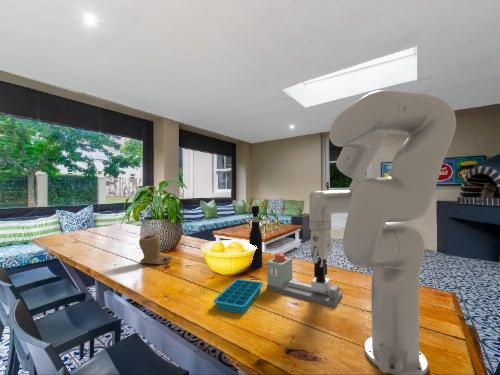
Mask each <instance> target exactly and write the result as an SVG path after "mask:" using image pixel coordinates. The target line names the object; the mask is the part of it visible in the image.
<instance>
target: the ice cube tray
mask: <svg viewBox="0 0 500 375" xmlns="http://www.w3.org/2000/svg"><path fill="white" fill-rule="evenodd" d="M263 285H264V283H263V282H262V281H258V280H255V281H254V280H249V279H248V280H247V279H240V278H236V279H234V281H233V282H231V283H230V284H229V285H228V286H226V288H225V289H223V290H222V292H220V293H219V294H218V295H217V296H216V297H215V298H214V299H213V303H214V304H216V309H217V310H222V311H225V312H226V311H227V312H233V313H238V314H244V313H246V311H247V310H248V309H249V307H250V306H251V305H252V303H253V302H254V301H255V299H256V298H257V296H258V295H259V294H260V293H261V288H262V286H263Z"/></svg>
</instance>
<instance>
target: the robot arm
mask: <svg viewBox="0 0 500 375" xmlns="http://www.w3.org/2000/svg"><path fill="white" fill-rule="evenodd" d="M456 128H457V117H456V113H455V111H454V109H453V107H452V106H451V105H450V104H449V103H448V102H446V101H445V100H444V99H441V98H440V97H437V96H435V95H431V94H425V93H417V92H406V91H405V92H404V91H396V90H395V91H394V90H375V91H372V92H369V93H368V94H366V95H364V96H363V97H361V98H359V99H358V100H356V101H355V102H353V104H351V105H349V106H348V107H346V108H345V109H344V110H343V111H341V112H340V113H339V114H338V115H337V116H336V117H335V118H334V119H333V122H332V124H331V127H330V128H329V129H330V130H329V140H330V142H331V143H332V145H334V146H336V147H338V148H339V147H340V148H341V147H342V149H341V151H340V154H339V155H338V157H337V159H336V162H335V165H336V168H337V169H338V171H339V172H340V173H342V174H343V175H345V177H348V178H351V179H352V181H351V183H350V185H349V187H348V188H347V189H346V190H313V191H311V192H309V195H308V196H309V202H308V203H309V205H308V206H309V208H308V209H309V216H308V218H309V230H311V232H310V246H309V247H310V252H309V253H310V257H311V258H312V260H311V261H312V263H313V276H314V278H315V277H317V278H321V279H323V278H324V267H322V266H323V260H325V276H327V275H328V258H329V256H331V254H333V253H332V252H333V251H332V250H333V249H332V248H333V247H332V235H331V234H332V232H331V230H332V215H333V214H347V216H346V217H347V218H346V222H345V225H344V230H343V231H344V232H343V238H342V248H343V252H344V255H345V257H346V259H347V261H348V262H349V263H350V264H352V265H353V266H355V267H357V268H363V269H366V268H367V269H369V268H371V269H372V268H374V269H373V271H372V274H371V289H370V290H371V291H370V292H371V297H370V298H371V303H370V304H371V337H369V338H368V339H366V341H365V342H364V352H365V355H366V356H367V358H368V359H369V360H370V361H371V362H372V363H373V364H374V365H375V366H376V367H378V369H379V370H380V371H381V372H382V373H384V374H388V373H389V374H392V375H426V374H427V373H428V370H429V363H428V359H427V358H426V356H425V355H424V353H422V352H421V351H420V277H421V276H420V275H421V269H422V265H423V261H424V260H423V259H424V255H425V243H424V238H423V236H422V234H421V232H420V231H419V230H418V229H417V228H416V227H415V226H414V225H411V224H409V223H406V222H410V221H411V222H413V221H417V220H419V219H421V218H423V217H425V215H426V214H427V212H428V211H429V208H430V206H431V203H432V200H433V197H434V193H435V189H436V186H437V183H438V181H439V178H440V174H441V170H442V166H443V164H444V160H445V158H446V155H447V153H448V152H449V151H448V150H449V148H450V146H451V144H452V142H453V138H454V137H455V133H456ZM388 134H390V135H392V134H393V135H395V134H396V135H406V136H408V138H406V140H405V141H404V142H403V143H402V144H401V145H400V146H399V147H398V149H397V151H396V153H395V155H394V157H393V159H392V165H391V169H390V172H389V174H388V176H386V177H371V178H367V175H366V172H367V170H368V169H369V166H370V165H371V163H372V162H373V160H374V158H375V157H376V155H377V154H378V151H379V149H380V148H381V146H382V145H383V142H384V141H385V139H386V138H387V135H388ZM318 260H320V261H318Z"/></svg>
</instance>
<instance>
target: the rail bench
mask: <svg viewBox="0 0 500 375" xmlns="http://www.w3.org/2000/svg"><path fill="white" fill-rule="evenodd" d="M266 267H267V268H266V280H267V281H266V282H267V283H266V290H270V291H273V292H277V293H281V294H285V295H288V296H292V297H295V298H298V299H303V300H305V301H310V302H314V303H318V304H322V305H325V306H329V307H333V308H336V306H337V304H338V303H339V302H340V300H341V298H342V297H343V291H342V290H340V285H338V284H332V285H330V288H329V289H328V290H327V294H326V295H324V294H320V293H316V292H312V290H311V283H306V282H302V281H298V280H294V279H293V258H290V257H286V256H285V262H283V263H281V262H276V261H275V257H274V258H271V259H269V260H268V261H266Z"/></svg>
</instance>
